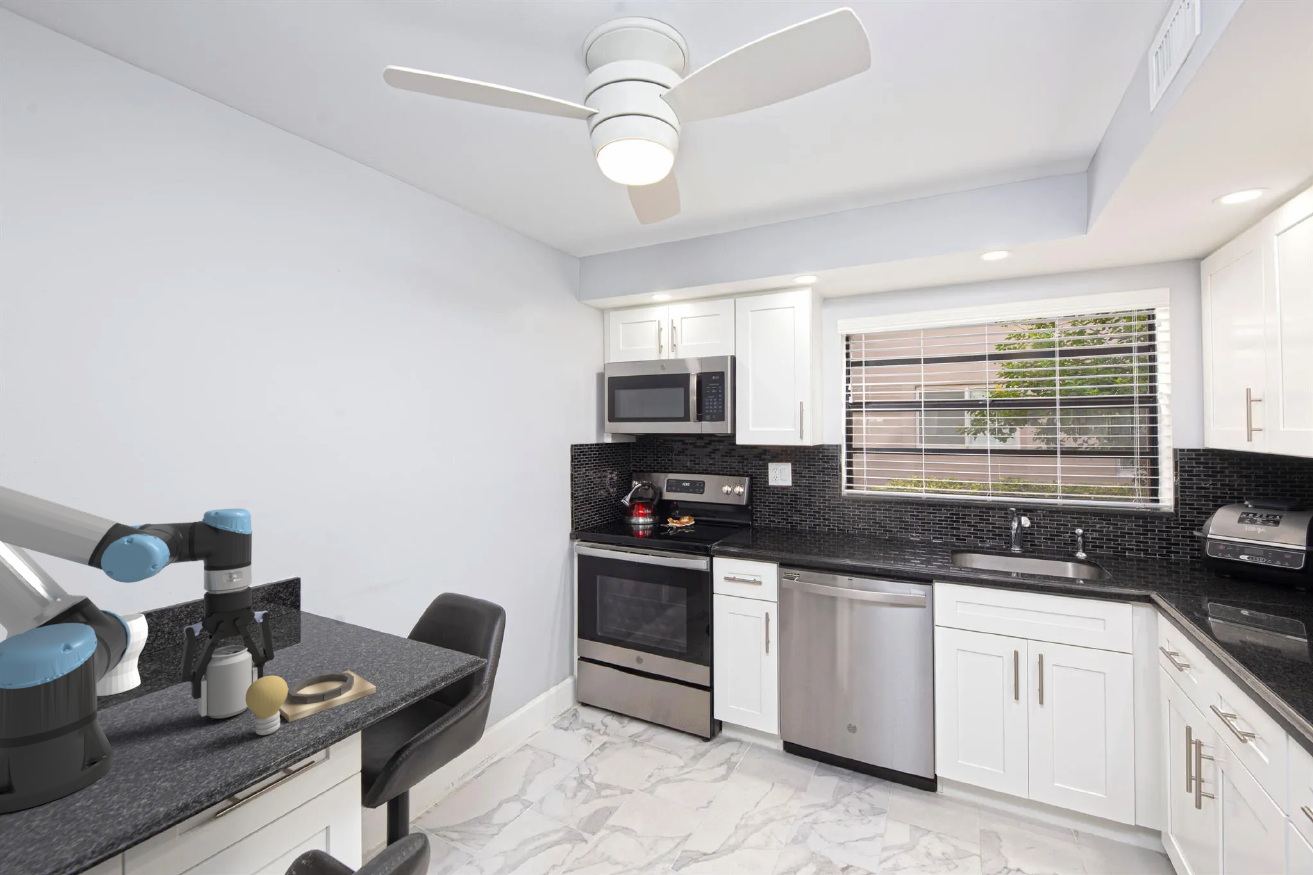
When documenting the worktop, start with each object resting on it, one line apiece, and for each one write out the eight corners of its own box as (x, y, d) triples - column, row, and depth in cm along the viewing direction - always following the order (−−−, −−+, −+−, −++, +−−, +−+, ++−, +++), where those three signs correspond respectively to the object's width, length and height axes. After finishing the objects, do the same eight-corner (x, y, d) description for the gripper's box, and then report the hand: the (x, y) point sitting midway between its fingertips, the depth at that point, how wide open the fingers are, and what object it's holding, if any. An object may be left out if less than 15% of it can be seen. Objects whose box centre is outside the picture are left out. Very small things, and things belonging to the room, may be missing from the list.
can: (226, 722, 108) (226, 658, 108) (193, 718, 109) (193, 655, 110) (261, 704, 115) (261, 644, 115) (230, 700, 117) (230, 641, 117)
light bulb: (256, 744, 101) (255, 687, 101) (239, 735, 104) (238, 679, 104) (295, 728, 106) (294, 674, 106) (278, 720, 109) (277, 667, 109)
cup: (152, 687, 126) (150, 618, 126) (83, 704, 118) (81, 631, 118) (146, 674, 133) (144, 609, 133) (81, 689, 126) (79, 621, 125)
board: (289, 722, 108) (288, 707, 108) (266, 701, 118) (265, 687, 118) (376, 692, 121) (375, 679, 121) (349, 675, 130) (348, 663, 130)
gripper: (164, 603, 102) (164, 732, 102) (293, 581, 118) (294, 694, 117) (156, 596, 107) (156, 719, 107) (281, 576, 123) (282, 684, 122)
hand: (228, 706), depth 112 cm, fingers closed on can, 7 cm apart
